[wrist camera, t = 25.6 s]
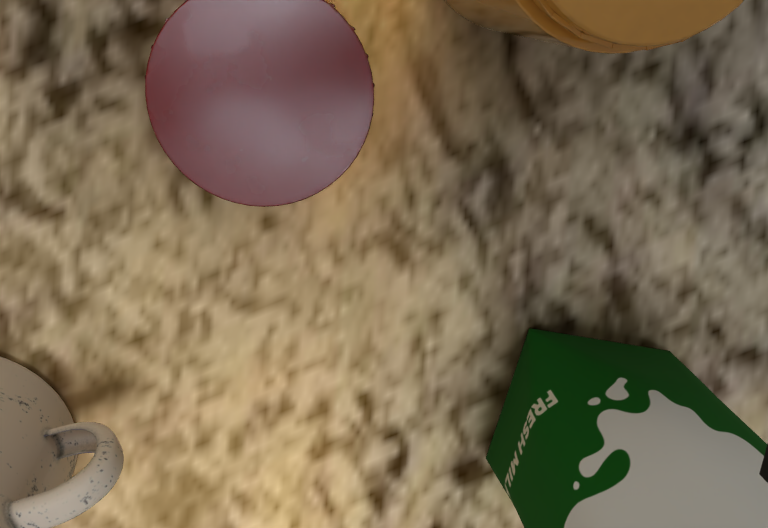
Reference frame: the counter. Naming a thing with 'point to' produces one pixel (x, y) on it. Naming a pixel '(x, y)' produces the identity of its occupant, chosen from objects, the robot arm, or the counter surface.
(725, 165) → the counter surface
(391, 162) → the counter surface
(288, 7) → the jam lid
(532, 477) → the milk carton
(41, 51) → the counter surface
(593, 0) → the jam jar
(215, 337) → the counter surface
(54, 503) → the teacup with lid
